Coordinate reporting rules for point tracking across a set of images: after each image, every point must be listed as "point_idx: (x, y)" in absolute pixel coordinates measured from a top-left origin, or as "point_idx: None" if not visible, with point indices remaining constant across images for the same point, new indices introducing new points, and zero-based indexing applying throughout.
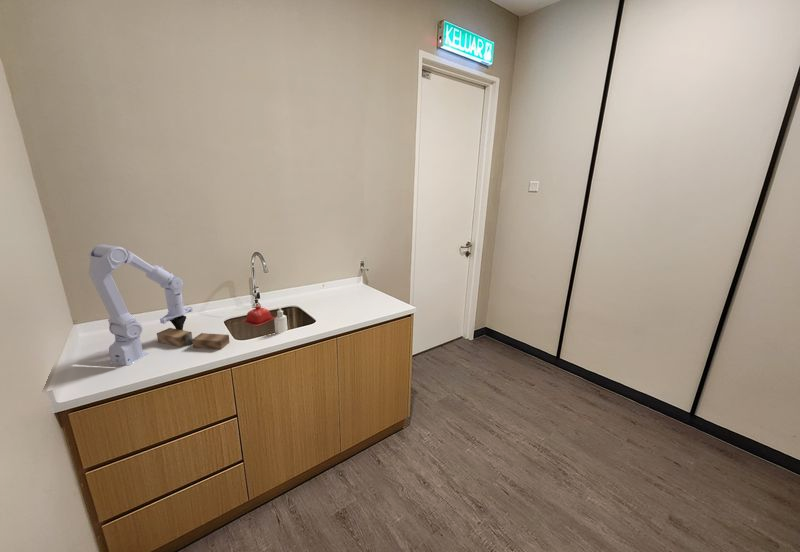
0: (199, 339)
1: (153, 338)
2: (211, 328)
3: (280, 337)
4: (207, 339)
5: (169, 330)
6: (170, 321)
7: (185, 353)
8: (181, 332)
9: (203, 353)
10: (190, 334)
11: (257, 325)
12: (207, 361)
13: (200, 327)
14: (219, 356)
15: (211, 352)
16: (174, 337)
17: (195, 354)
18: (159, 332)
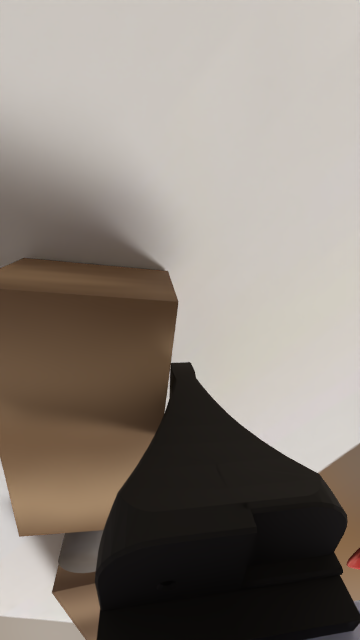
0: (71, 612)
1: (67, 113)
2: (336, 419)
3: None
4: (91, 630)
5: (107, 362)
6: (132, 472)
7: (5, 524)
8: (113, 485)
9: (50, 568)
10: (93, 568)
11: (348, 566)
12: (5, 611)
13: (357, 349)
14: (60, 610)
15: None
16: (14, 500)
17: (24, 556)
18: (2, 299)
